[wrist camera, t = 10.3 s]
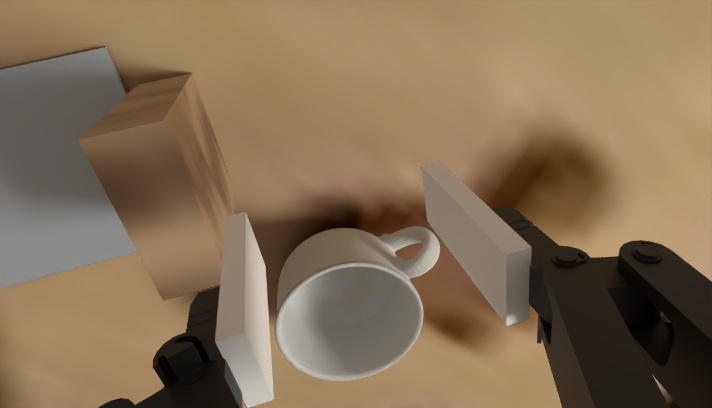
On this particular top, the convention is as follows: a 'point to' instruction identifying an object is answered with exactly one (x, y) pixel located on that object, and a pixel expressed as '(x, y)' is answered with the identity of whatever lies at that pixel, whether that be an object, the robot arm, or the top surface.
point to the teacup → (351, 301)
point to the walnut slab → (166, 182)
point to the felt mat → (55, 167)
